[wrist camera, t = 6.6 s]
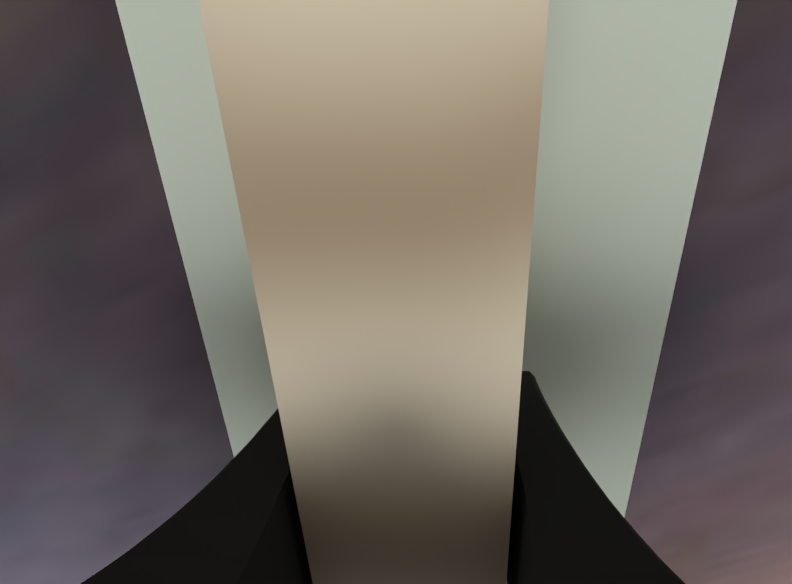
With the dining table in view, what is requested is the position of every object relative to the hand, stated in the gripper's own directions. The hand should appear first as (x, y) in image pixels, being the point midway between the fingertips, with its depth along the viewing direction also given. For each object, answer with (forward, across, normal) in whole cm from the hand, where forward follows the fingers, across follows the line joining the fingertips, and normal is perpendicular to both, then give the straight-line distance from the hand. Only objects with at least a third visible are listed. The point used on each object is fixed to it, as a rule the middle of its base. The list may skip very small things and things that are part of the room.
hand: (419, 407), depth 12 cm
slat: (+2, 0, 0) cm, 2 cm away
